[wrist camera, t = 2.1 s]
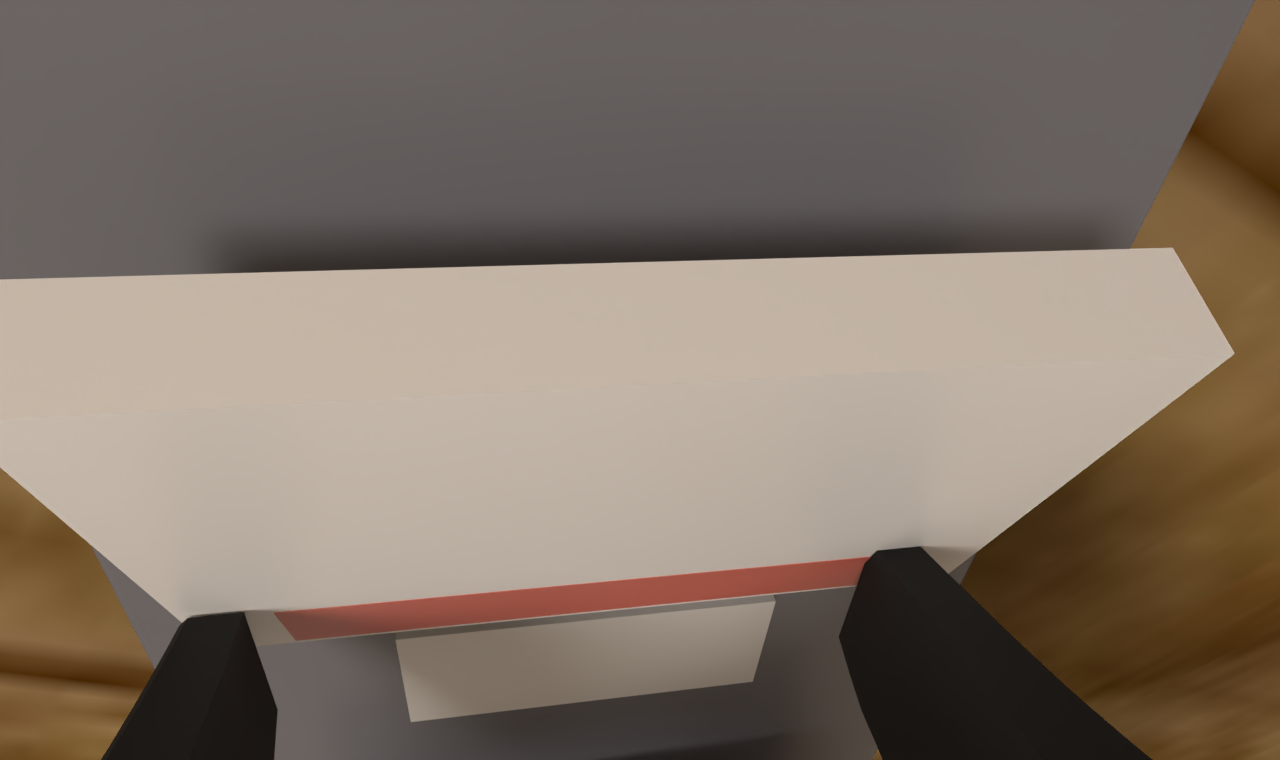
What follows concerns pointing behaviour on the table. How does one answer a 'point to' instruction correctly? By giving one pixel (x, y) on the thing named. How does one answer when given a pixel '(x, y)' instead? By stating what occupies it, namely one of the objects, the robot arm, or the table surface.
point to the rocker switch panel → (581, 250)
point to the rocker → (573, 424)
